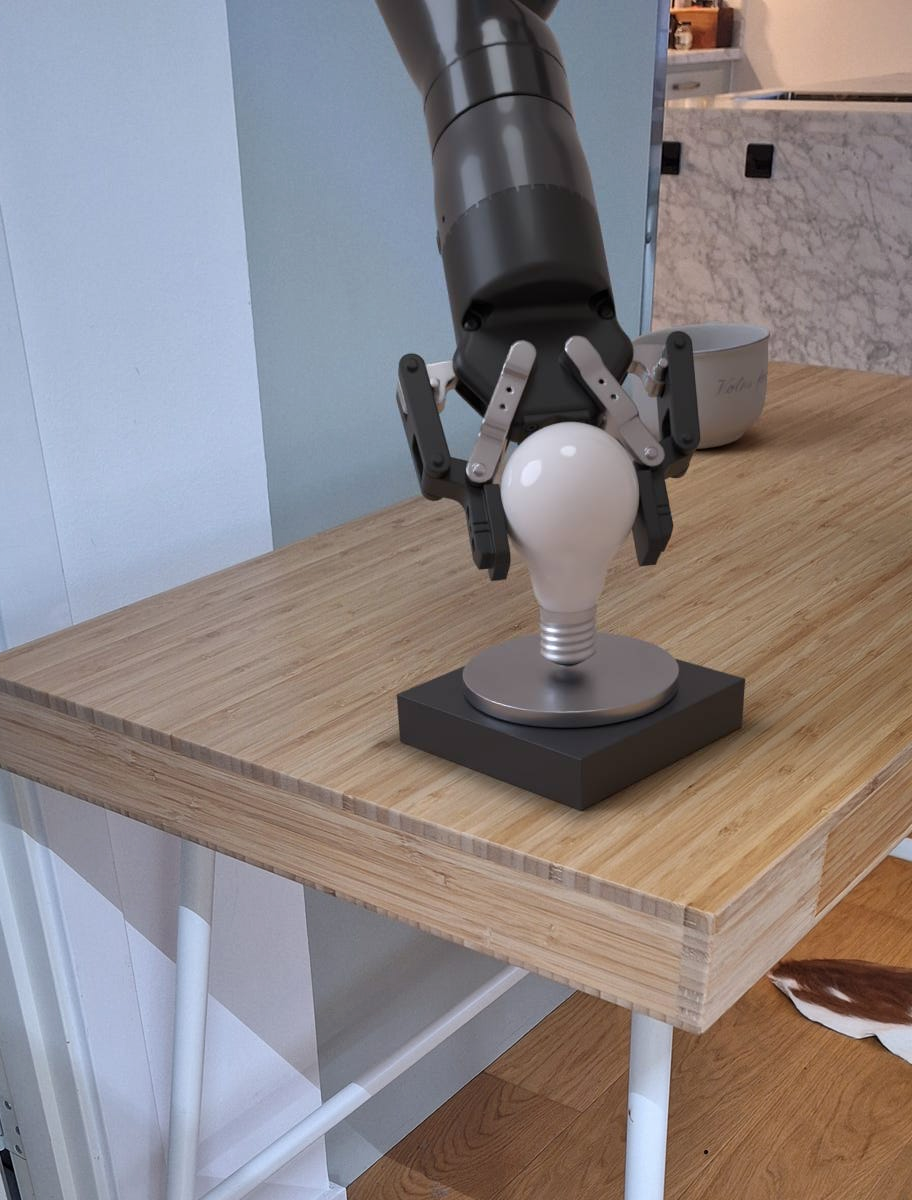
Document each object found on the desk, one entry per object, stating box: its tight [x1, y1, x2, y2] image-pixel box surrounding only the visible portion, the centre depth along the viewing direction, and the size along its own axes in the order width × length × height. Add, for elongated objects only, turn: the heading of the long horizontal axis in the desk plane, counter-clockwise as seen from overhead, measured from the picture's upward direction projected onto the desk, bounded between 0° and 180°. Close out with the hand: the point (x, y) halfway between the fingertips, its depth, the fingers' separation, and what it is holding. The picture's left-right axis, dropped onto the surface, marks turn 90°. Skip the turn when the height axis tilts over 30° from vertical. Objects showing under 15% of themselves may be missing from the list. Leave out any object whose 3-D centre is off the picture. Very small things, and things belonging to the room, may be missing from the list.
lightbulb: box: [499, 422, 639, 667], centre depth 68 cm, size 6×6×11 cm
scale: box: [396, 658, 746, 811], centre depth 72 cm, size 12×12×2 cm
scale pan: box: [463, 631, 679, 728], centre depth 71 cm, size 10×10×1 cm
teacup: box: [630, 320, 771, 450], centre depth 117 cm, size 14×11×8 cm
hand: (577, 564), depth 66 cm, fingers closed on lightbulb, 6 cm apart
